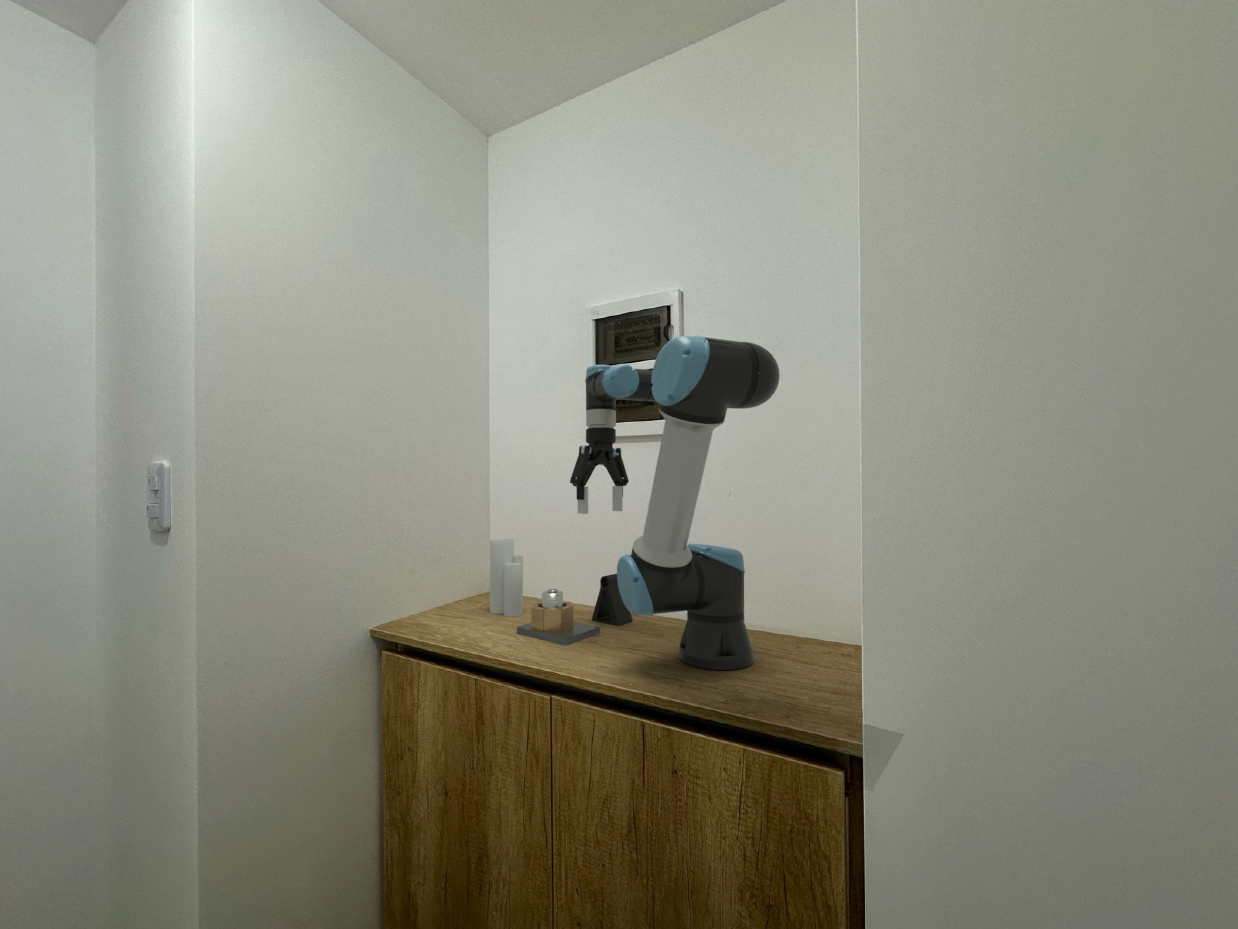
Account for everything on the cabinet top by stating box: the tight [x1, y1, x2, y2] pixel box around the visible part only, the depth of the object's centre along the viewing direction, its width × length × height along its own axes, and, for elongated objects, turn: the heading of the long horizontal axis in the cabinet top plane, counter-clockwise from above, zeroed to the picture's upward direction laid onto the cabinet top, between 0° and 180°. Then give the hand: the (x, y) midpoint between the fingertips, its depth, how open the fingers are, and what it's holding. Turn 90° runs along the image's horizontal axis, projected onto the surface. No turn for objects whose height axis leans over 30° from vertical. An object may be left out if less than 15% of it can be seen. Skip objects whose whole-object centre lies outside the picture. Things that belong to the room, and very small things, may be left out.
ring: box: [530, 600, 574, 632], centre depth 135 cm, size 10×10×5 cm
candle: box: [489, 538, 524, 618], centre depth 155 cm, size 11×7×20 cm, turn 56°
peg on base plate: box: [516, 588, 601, 646], centre depth 134 cm, size 16×12×10 cm
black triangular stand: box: [591, 573, 633, 627], centre depth 146 cm, size 9×6×12 cm, turn 50°
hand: (600, 512), depth 139 cm, fingers open, 13 cm apart
